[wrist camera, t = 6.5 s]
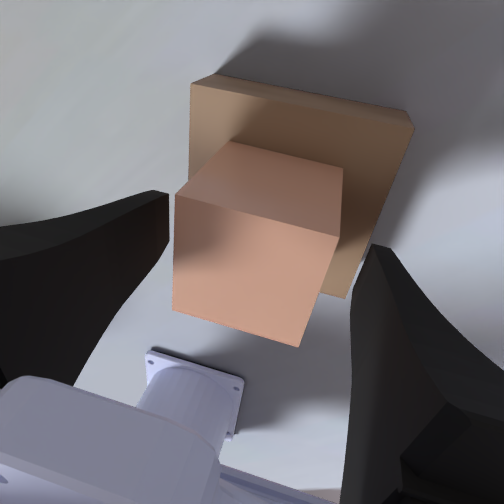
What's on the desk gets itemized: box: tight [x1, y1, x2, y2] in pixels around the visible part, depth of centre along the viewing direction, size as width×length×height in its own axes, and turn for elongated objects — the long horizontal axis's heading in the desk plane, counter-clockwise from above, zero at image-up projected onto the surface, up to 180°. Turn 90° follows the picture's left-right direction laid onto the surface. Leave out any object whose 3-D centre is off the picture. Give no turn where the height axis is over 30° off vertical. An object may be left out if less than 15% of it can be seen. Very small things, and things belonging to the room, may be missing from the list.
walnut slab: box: [188, 74, 415, 299], centre depth 15 cm, size 8×8×3 cm
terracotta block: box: [172, 141, 343, 347], centre depth 12 cm, size 4×4×5 cm
